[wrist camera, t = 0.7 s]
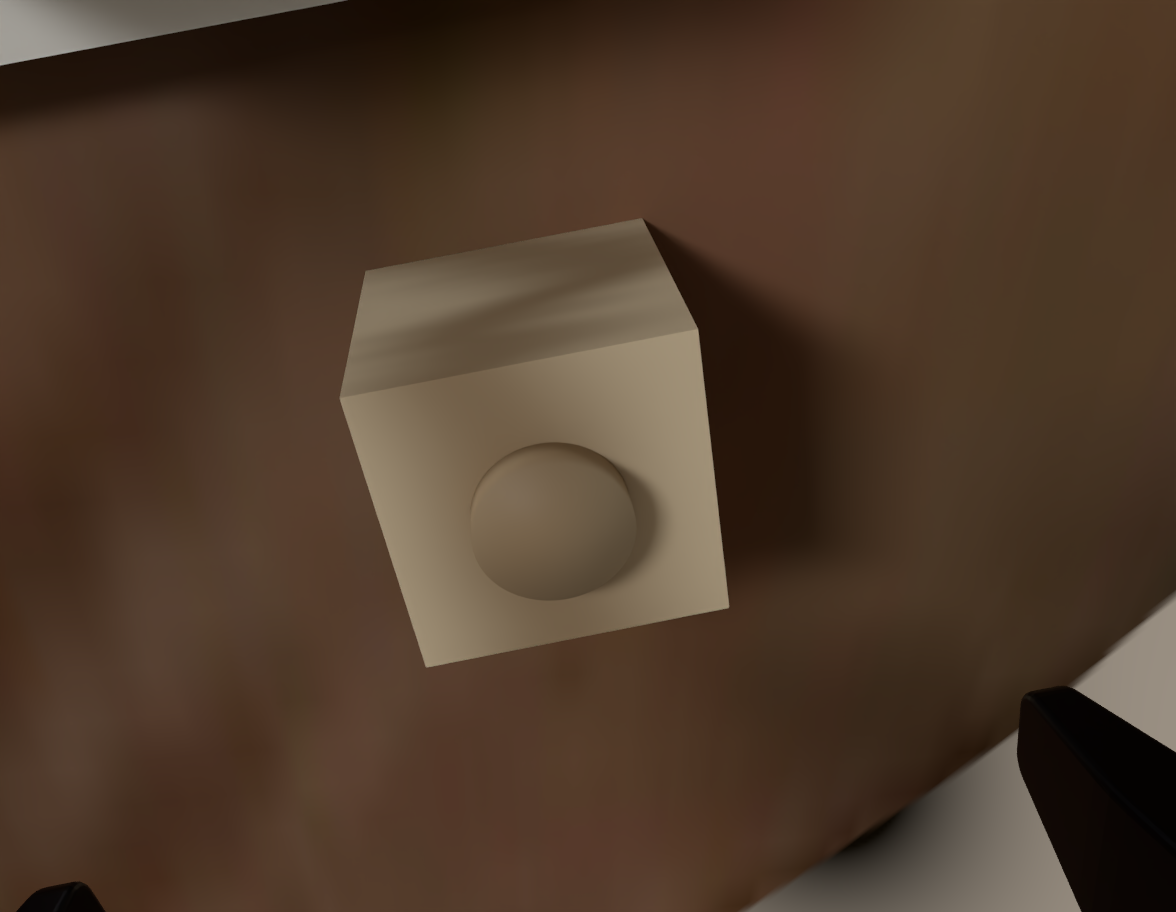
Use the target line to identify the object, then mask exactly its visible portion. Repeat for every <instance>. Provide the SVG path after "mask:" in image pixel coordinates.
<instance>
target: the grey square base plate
mask: <svg viewBox="0 0 1176 912" xmlns="http://www.w3.org/2000/svg"><path fill="white" fill-rule="evenodd" d="M341 1H346V0H0V65H5V64H10V63H16V62H21V61H26V60H32V59H37V58H42V57H48V56H53V55H58V54H64V53H69V52H74V51H80V50H85V49H90V48H96V47H101V46H106V45H112V44H117V43H122V42H128V41H133V40H138V39H144V38H149V37H154V36H160V35H165V34H170V33H176V32H181V31H186V30H192V29H197V28H202V27H208V26H213V25H218V24H224V23H229V22H234V21H240V20H245V19H250V18H256V17H261V16H266V15H271V14H277V13H282V12H287V11H293V10H298V9H303V8H309V7H314V6H319V5H325V4H330V3H335V2H341Z"/></svg>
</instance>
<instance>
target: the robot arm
mask: <svg viewBox="0 0 1176 912" xmlns="http://www.w3.org/2000/svg"><path fill="white" fill-rule="evenodd" d="M1017 758H1018V763H1019V768H1020V771H1021V774H1022V777H1023V780H1024V782H1025V784H1026V786H1027V788H1028V791H1029V793H1030V795H1031V798H1032V800H1033V802H1034V805H1035V807H1036V809H1037V811H1038V814H1039V816H1040V818H1041V821H1042V823H1043V825H1044V828H1045V830H1046V832H1047V834H1048V837H1049V839H1050V841H1051V843H1052V845H1053V848H1054V850H1055V853H1056V855H1057V857H1058V859H1059V862H1060V864H1061V866H1062V869H1063V871H1064V873H1065V875H1066V878H1067V879H1068V882H1069V885H1070V887H1071V889H1072V891H1073V893H1074V896H1075V898H1076V901H1077V903H1078V905H1079V907H1080V909H1081V912H1176V752H1174V751H1173V750H1171V749H1169V748H1168V747H1166V746H1165V745H1163V744H1162V743H1160V742H1158V741H1157V740H1155V739H1154V738H1152V737H1150V736H1149V735H1147V734H1146V733H1144V732H1142V731H1141V730H1139V729H1137V728H1136V727H1134V726H1133V725H1131V724H1130V723H1128V722H1126V721H1125V720H1123V719H1122V718H1120V717H1118V716H1116V715H1115V714H1113V713H1112V712H1110V711H1108V710H1107V709H1106V708H1104V707H1102V706H1101V705H1099V704H1098V703H1096V702H1094V701H1093V700H1091V699H1090V698H1088V697H1086V696H1085V695H1083V694H1082V693H1080V692H1078V691H1077V690H1075V689H1073V688H1070V687H1067V686H1056V687H1051V688H1046V689H1041V690H1036V691H1031V692H1028V693H1026V694H1025V695H1024V697H1023V698H1022V701H1021V707H1020V719H1019V732H1018V745H1017ZM16 912H105V910H104V909H103V907H102V906H101V904H100V903H99V901H98V899H97V898H96V896H95V895H94V893H93V892H92V890H91V889H90V888H89V887H88V885H86V884H84V883H82V882H70V883H65V884H60V885H55V886H50V887H46V888H42V889H40V890H38V891H36V892H35V893H34V894H32V895H31V896H30V897H29V898H28V899H27V900H26V901H25V902H24V903H23V905H22V906H21V907H20V908H19V909H18V910H17V911H16Z"/></svg>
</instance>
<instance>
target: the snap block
mask: <svg viewBox="0 0 1176 912" xmlns="http://www.w3.org/2000/svg"><path fill="white" fill-rule="evenodd" d="M340 401H341V404H342V407H343V410H344V413H345V417H346V420H347V423H348V426H349V429H350V432H351V435H352V438H353V441H354V445H355V448H356V451H357V454H358V457H359V460H360V463H361V466H362V469H363V472H364V476H365V479H366V482H367V485H368V488H369V491H370V494H371V497H372V500H373V504H374V507H375V510H376V513H377V516H378V519H379V522H380V525H381V528H382V532H383V535H384V538H385V541H386V544H387V547H388V550H389V553H390V556H391V560H392V563H393V566H394V569H395V572H396V575H397V578H398V581H399V584H400V588H401V591H402V594H403V597H404V600H405V603H406V606H407V609H408V612H409V616H410V619H411V622H412V625H413V628H414V631H415V634H416V637H417V640H418V644H419V647H420V650H421V653H422V656H423V659H424V662H425V665H426V667H431V666H437V665H442V664H447V663H452V662H457V661H462V660H467V659H472V658H477V657H482V656H487V655H492V654H497V653H502V652H508V651H513V650H518V649H523V648H528V647H533V646H538V645H543V644H548V643H553V642H558V641H563V640H568V639H574V638H579V637H584V636H589V635H594V634H599V633H604V632H609V631H614V630H619V629H624V628H629V627H634V626H639V625H645V624H650V623H655V622H660V621H665V620H670V619H675V618H680V617H685V616H690V615H695V614H700V613H705V612H710V611H716V610H721V609H726V608H729V601H728V592H727V583H726V574H725V565H724V556H723V547H722V538H721V529H720V520H719V511H718V502H717V494H716V485H715V476H714V467H713V458H712V449H711V440H710V431H709V422H708V413H707V404H706V395H705V386H704V377H703V368H702V360H701V351H700V342H699V333H698V328H697V326H696V324H695V322H694V320H693V318H692V316H691V314H690V312H689V310H688V308H687V306H686V304H685V302H684V300H683V298H682V296H681V294H680V292H679V290H678V288H677V286H676V284H675V282H674V280H673V278H672V276H671V274H670V272H669V270H668V268H667V266H666V264H665V262H664V260H663V258H662V256H661V254H660V252H659V250H658V248H657V246H656V244H655V242H654V241H653V239H652V237H651V235H650V233H649V231H648V229H647V227H646V225H645V223H644V221H643V219H642V218H641V219H636V220H630V221H625V222H620V223H615V224H609V225H604V226H599V227H594V228H589V229H583V230H578V231H573V232H568V233H562V234H557V235H552V236H547V237H542V238H536V239H531V240H526V241H521V242H515V243H510V244H505V245H500V246H494V247H489V248H484V249H479V250H474V251H468V252H463V253H458V254H453V255H447V256H442V257H437V258H432V259H427V260H421V261H416V262H411V263H406V264H400V265H395V266H390V267H385V268H379V269H374V270H369V271H366V272H365V277H364V282H363V287H362V292H361V297H360V301H359V306H358V311H357V316H356V321H355V326H354V331H353V336H352V340H351V345H350V350H349V355H348V360H347V365H346V370H345V374H344V379H343V384H342V389H341V394H340Z"/></svg>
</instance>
